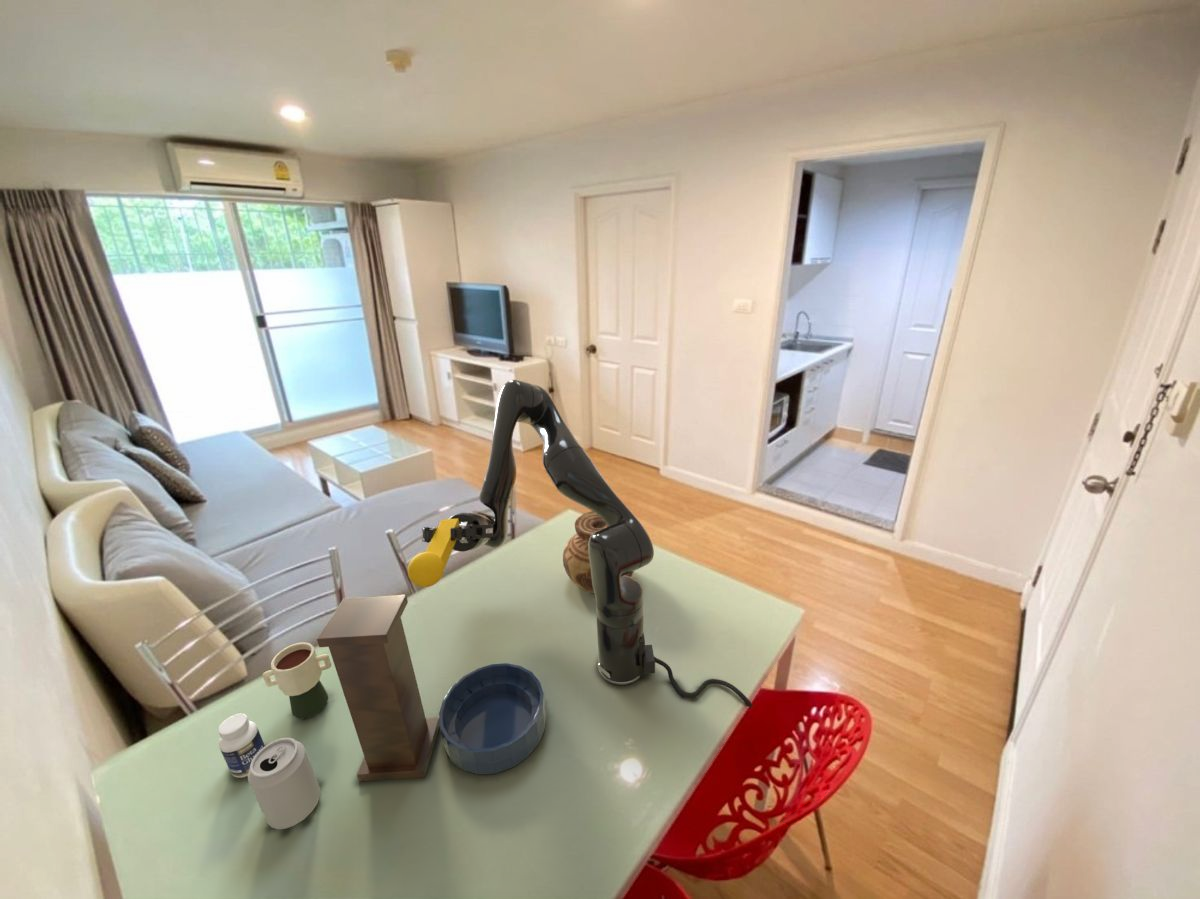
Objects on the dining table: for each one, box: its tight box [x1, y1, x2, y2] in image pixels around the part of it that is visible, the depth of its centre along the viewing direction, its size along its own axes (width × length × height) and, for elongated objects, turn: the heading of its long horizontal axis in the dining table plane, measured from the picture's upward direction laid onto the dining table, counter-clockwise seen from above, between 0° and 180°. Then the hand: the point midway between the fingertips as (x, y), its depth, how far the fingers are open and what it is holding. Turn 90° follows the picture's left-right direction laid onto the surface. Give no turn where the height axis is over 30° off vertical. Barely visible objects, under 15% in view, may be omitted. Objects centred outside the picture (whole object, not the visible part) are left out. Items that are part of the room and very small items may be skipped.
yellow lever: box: [407, 518, 460, 588], centre depth 80 cm, size 5×18×5 cm, turn 2°
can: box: [247, 737, 322, 830], centre depth 76 cm, size 8×8×12 cm
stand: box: [316, 594, 440, 782], centre depth 81 cm, size 11×10×30 cm
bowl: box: [438, 662, 547, 775], centre depth 89 cm, size 18×18×6 cm
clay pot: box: [562, 510, 635, 594], centre depth 125 cm, size 19×19×20 cm
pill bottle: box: [217, 713, 266, 779], centre depth 84 cm, size 5×5×10 cm
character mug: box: [262, 641, 332, 720], centre depth 93 cm, size 11×7×13 cm, turn 113°
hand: (442, 534), depth 83 cm, fingers closed on yellow lever, 3 cm apart
